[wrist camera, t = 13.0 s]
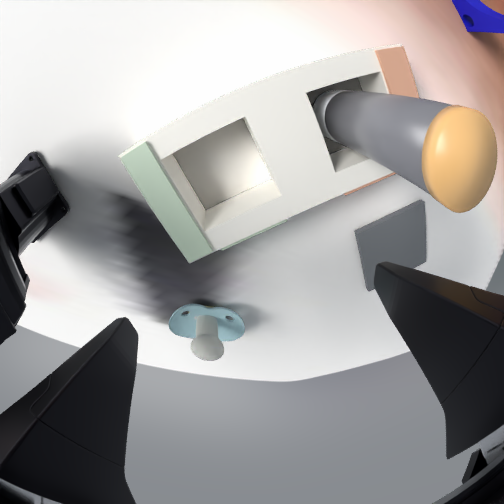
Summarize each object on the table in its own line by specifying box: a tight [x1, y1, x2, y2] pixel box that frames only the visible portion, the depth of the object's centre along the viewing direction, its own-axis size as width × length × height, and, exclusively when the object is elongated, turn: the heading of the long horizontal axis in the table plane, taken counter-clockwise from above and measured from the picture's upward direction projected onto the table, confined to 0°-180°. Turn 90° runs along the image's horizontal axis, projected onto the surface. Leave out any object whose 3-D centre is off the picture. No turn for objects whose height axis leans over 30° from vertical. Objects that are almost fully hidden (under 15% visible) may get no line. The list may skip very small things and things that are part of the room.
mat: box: [355, 200, 426, 291], centre depth 25 cm, size 8×8×1 cm
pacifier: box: [169, 304, 245, 361], centre depth 25 cm, size 7×6×6 cm
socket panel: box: [118, 44, 419, 263], centre depth 17 cm, size 20×9×4 cm, turn 115°
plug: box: [313, 90, 497, 213], centre depth 12 cm, size 4×4×13 cm
